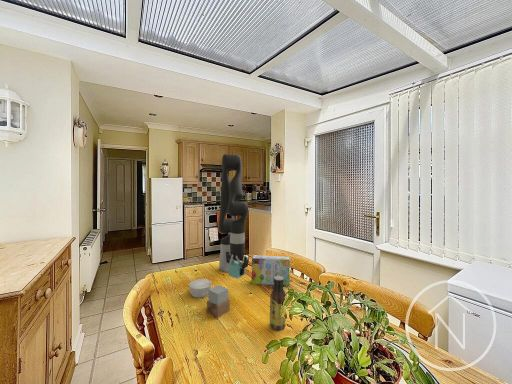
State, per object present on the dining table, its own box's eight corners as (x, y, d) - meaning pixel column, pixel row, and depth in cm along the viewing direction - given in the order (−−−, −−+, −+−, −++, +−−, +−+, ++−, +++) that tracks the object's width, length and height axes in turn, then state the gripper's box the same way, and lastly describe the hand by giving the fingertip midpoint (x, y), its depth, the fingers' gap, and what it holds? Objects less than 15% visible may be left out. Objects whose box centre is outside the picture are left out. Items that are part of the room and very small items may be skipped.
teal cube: (228, 275, 116) (228, 263, 116) (236, 271, 121) (236, 260, 121) (237, 278, 113) (237, 266, 112) (245, 274, 118) (245, 263, 117)
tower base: (206, 312, 100) (206, 301, 100) (218, 305, 106) (218, 295, 106) (218, 318, 96) (218, 306, 96) (229, 310, 102) (229, 299, 102)
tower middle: (208, 300, 101) (208, 289, 100) (218, 295, 105) (218, 285, 105) (217, 305, 97) (217, 294, 97) (227, 299, 102) (227, 288, 101)
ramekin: (206, 300, 110) (206, 289, 110) (184, 297, 113) (184, 287, 112) (214, 289, 121) (214, 279, 121) (195, 287, 124) (195, 277, 123)
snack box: (288, 282, 132) (289, 256, 131) (289, 286, 126) (290, 259, 126) (252, 280, 134) (252, 254, 133) (251, 284, 128) (251, 257, 128)
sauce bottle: (268, 321, 94) (269, 274, 93) (283, 320, 95) (284, 273, 94) (271, 331, 88) (272, 280, 87) (287, 331, 88) (288, 280, 88)
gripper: (221, 240, 117) (221, 272, 118) (243, 245, 109) (243, 279, 110) (231, 237, 123) (231, 267, 124) (253, 242, 115) (252, 274, 116)
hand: (236, 273), depth 117 cm, fingers closed on teal cube, 6 cm apart
